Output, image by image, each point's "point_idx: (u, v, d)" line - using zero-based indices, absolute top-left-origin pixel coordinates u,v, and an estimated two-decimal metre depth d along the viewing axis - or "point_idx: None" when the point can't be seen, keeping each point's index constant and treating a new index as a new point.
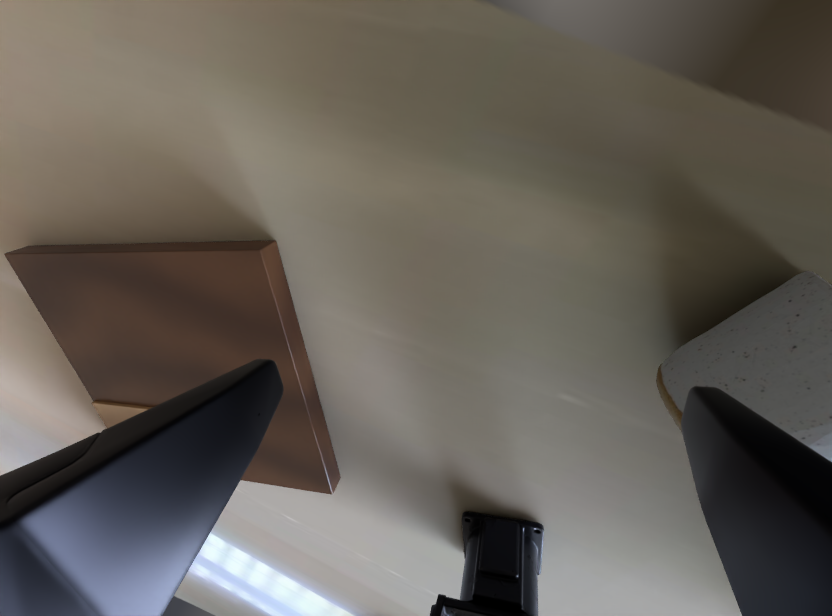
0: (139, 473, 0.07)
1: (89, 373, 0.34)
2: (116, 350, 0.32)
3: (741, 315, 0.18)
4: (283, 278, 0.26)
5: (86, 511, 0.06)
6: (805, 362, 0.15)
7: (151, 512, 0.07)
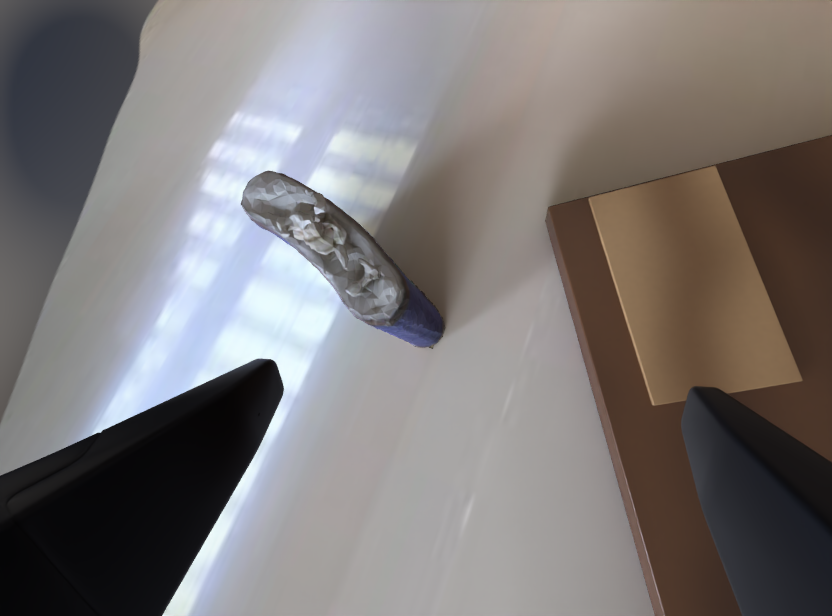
0: (139, 473, 0.07)
1: (794, 176, 0.19)
2: None
3: None
4: None
5: (86, 511, 0.06)
6: None
7: (151, 512, 0.07)
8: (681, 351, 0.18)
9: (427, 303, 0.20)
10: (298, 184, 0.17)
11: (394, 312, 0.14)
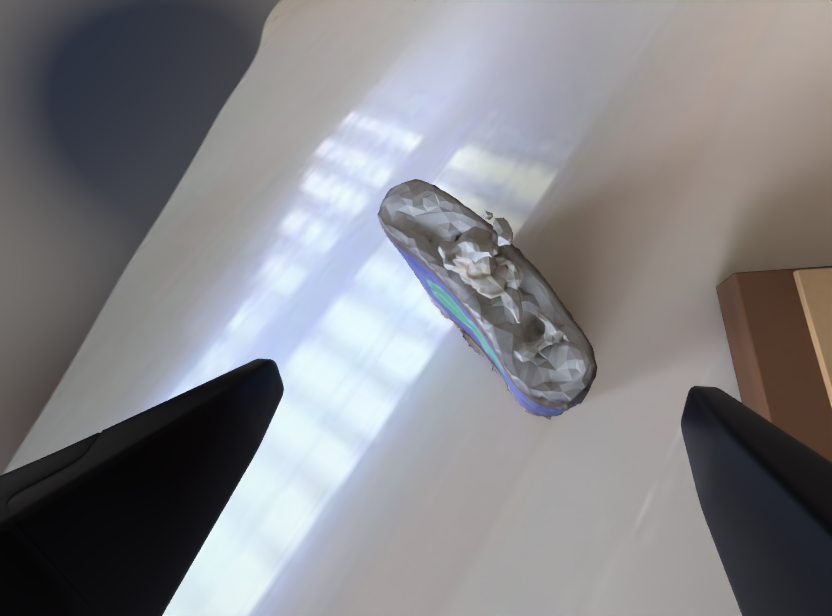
0: (139, 473, 0.07)
1: None
2: None
3: None
4: None
5: (86, 511, 0.06)
6: None
7: (151, 512, 0.07)
8: None
9: None
10: (455, 201, 0.13)
11: (577, 394, 0.10)
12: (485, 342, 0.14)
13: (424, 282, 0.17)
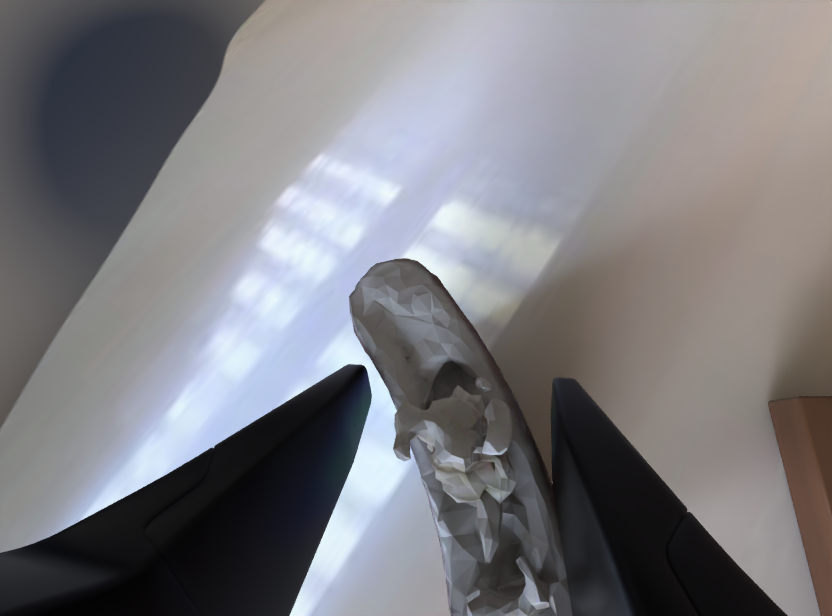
0: (259, 492, 0.06)
1: None
2: None
3: None
4: None
5: (219, 539, 0.05)
6: None
7: (271, 536, 0.06)
8: None
9: None
10: (456, 313, 0.09)
11: None
12: None
13: None
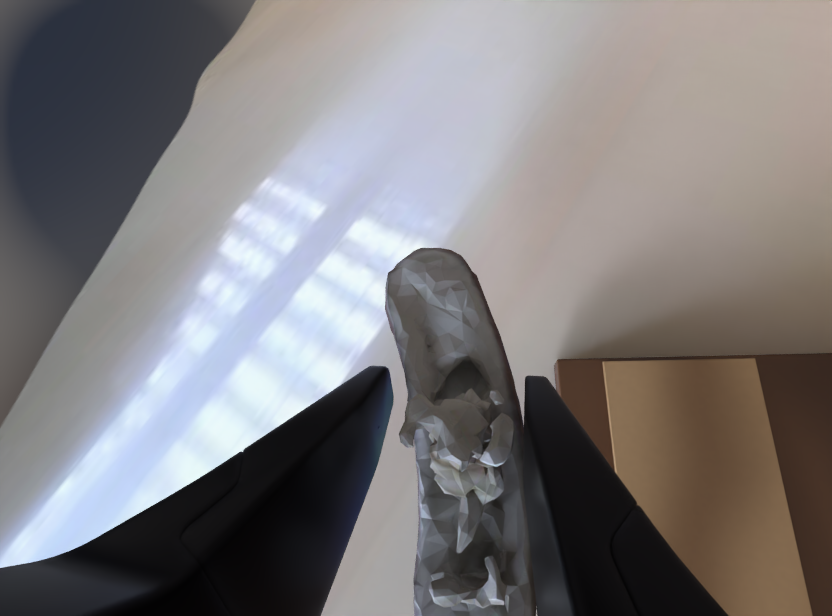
0: (290, 497, 0.06)
1: None
2: None
3: None
4: None
5: (254, 546, 0.05)
6: None
7: (302, 542, 0.06)
8: None
9: None
10: (486, 317, 0.09)
11: None
12: None
13: None
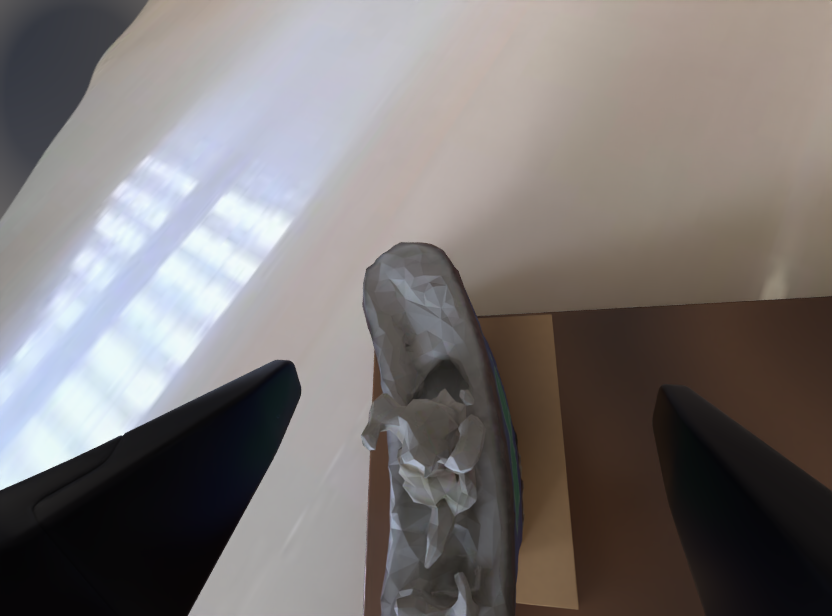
0: (163, 476, 0.07)
1: (636, 345, 0.16)
2: None
3: None
4: None
5: (112, 516, 0.06)
6: None
7: (174, 517, 0.07)
8: None
9: None
10: (466, 314, 0.09)
11: None
12: None
13: None
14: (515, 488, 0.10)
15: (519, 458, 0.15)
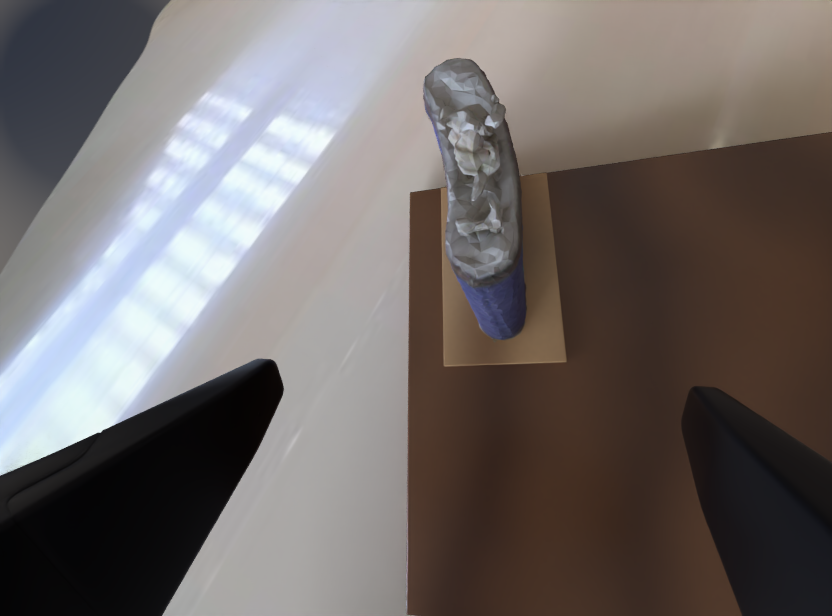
0: (139, 473, 0.07)
1: (610, 189, 0.21)
2: (681, 262, 0.20)
3: None
4: None
5: (86, 511, 0.06)
6: None
7: (151, 512, 0.07)
8: (477, 323, 0.21)
9: (522, 297, 0.17)
10: (490, 91, 0.14)
11: (485, 276, 0.12)
12: None
13: None
14: None
15: None
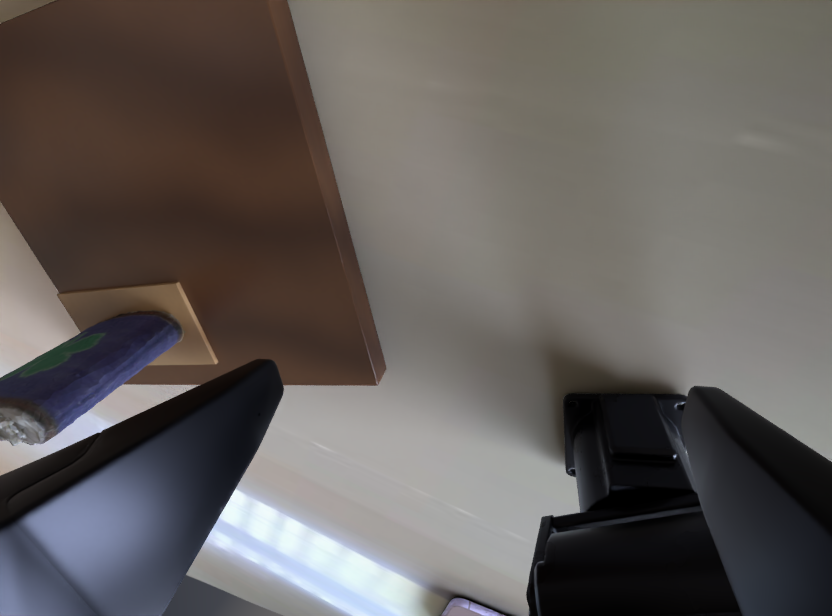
0: (139, 473, 0.07)
1: (47, 247, 0.26)
2: (73, 197, 0.23)
3: None
4: (286, 7, 0.17)
5: (86, 511, 0.06)
6: None
7: (151, 512, 0.07)
8: (179, 342, 0.27)
9: (112, 343, 0.23)
10: None
11: (40, 425, 0.18)
12: None
13: None
14: (46, 364, 0.22)
15: (128, 312, 0.26)
